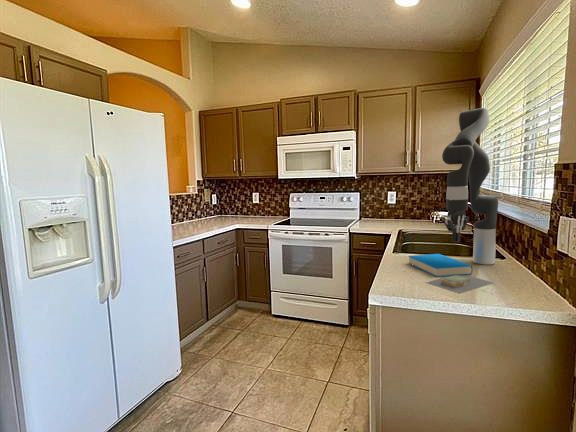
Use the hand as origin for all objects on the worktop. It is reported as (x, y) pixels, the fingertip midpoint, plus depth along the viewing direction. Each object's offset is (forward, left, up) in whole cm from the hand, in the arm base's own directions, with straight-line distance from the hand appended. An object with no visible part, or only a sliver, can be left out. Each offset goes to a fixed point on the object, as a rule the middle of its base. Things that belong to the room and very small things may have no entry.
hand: (456, 241), depth 129 cm
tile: (-5, 0, -16) cm, 17 cm away
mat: (-3, 0, -18) cm, 18 cm away
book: (-14, -18, -18) cm, 29 cm away
